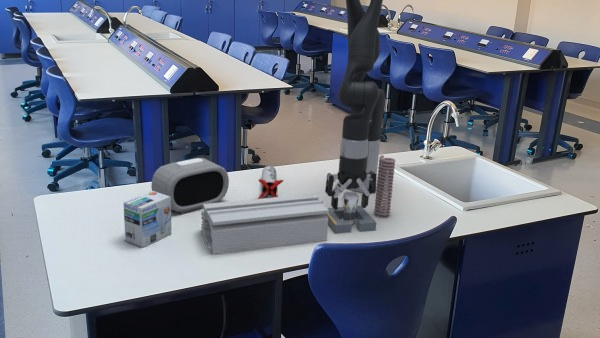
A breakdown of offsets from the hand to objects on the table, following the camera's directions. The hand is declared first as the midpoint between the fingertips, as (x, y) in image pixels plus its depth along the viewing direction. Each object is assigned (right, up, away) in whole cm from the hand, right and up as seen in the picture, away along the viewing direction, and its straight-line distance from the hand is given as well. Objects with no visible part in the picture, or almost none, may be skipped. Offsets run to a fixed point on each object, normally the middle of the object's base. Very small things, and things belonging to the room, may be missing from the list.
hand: (349, 208), depth 170 cm
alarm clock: (-46, 0, +9) cm, 47 cm away
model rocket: (-24, +4, +24) cm, 34 cm away
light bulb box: (-53, -7, -13) cm, 55 cm away
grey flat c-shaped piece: (0, -4, +1) cm, 5 cm away
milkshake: (0, -4, +2) cm, 5 cm away
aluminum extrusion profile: (-24, -7, -9) cm, 26 cm away
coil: (+10, -3, +8) cm, 14 cm away
